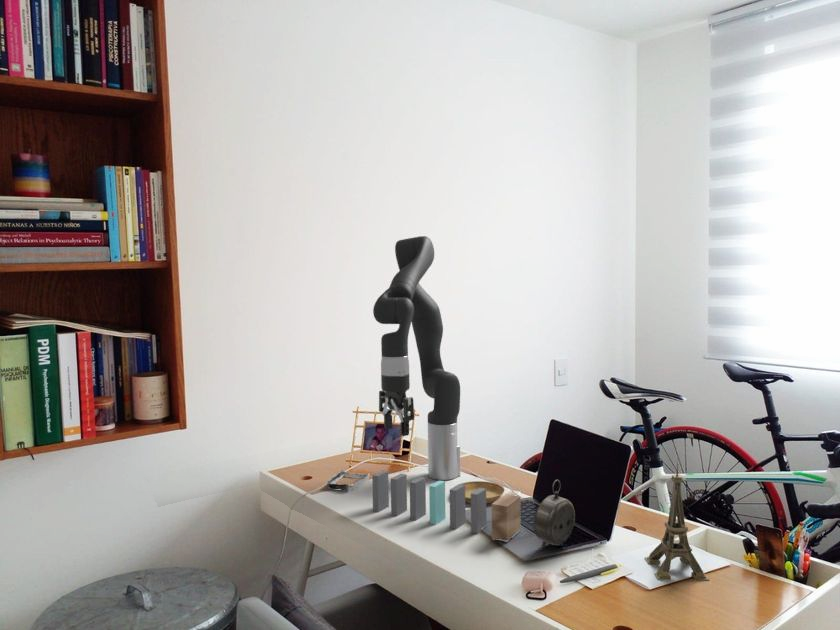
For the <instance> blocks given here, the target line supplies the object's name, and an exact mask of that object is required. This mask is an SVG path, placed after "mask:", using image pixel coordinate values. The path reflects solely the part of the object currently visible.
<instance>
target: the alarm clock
mask: <svg viewBox="0 0 840 630" xmlns="http://www.w3.org/2000/svg"><path fill="white" fill-rule="evenodd" d="M556 482H558V484H559V487H558V491H557V490H556V491H555V490H554V489H555V488H554V487H555V484H556ZM561 485H562V484H561V480H559V479H555V480H554V481H553V483H552V487H551V488H552V493H553V494H550V495H548V496H546V497H545V498H544V499H543V500H542V501H541V503H540V504H539V506H538V508H537V510H536V512H535V516H534V521H533V522H534V527H533V528H534V533H535V535H536V537H537V539H538V540H540V541H542V544H541V547H540V549H541V548H543V549H544V547H545V546H546V544H550V545H552V546H562V545H563V546H564V543H565V542H566V541H567V540H568V539H569V537H570V536H571V534H572V531H573V529H574V525H575V521H576V511H575V508H574V505H573V503H572V502H571V501H570V500H569V499H567V498H564V497H561V496H559V492H560V490H561V488H562V487H561Z"/></svg>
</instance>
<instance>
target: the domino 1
mask: <svg viewBox="0 0 840 630" xmlns="http://www.w3.org/2000/svg"><path fill="white" fill-rule="evenodd" d="M371 476H372V477H371V479H372V484H371V485H372V512H375V513H380V512H382V511H384V510H385V509H387V508H389V507H390V497H389V496H390V495H389V493H390V492H389V489H390V488H389V471H388V470H384V469H382V470H381V471H378V472H376V473H374V474H372V475H371Z"/></svg>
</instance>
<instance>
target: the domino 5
mask: <svg viewBox="0 0 840 630" xmlns="http://www.w3.org/2000/svg"><path fill="white" fill-rule="evenodd" d="M465 524H466V502H465V485H462V484H461V483H458V484H456V485H455V486H453V487H451V488H450V489H449V528H450V529H453V530H457V529H459V528H460V527H462V526H463V525H465Z"/></svg>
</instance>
